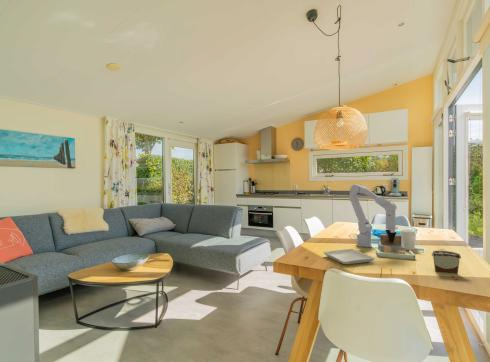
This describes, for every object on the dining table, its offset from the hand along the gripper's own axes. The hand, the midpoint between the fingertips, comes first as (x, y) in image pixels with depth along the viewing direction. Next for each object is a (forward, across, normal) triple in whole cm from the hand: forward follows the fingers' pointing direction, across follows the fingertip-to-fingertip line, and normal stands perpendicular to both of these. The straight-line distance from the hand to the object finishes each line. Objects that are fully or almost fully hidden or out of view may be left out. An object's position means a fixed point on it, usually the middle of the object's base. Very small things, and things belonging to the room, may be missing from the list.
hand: (390, 241), depth 181 cm
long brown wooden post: (+2, 0, 0) cm, 2 cm away
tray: (+6, -14, 0) cm, 15 cm away
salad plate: (+6, -32, +27) cm, 42 cm away
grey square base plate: (+6, -2, 0) cm, 6 cm away
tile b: (+3, -14, -4) cm, 15 cm away
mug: (+6, +10, -13) cm, 17 cm away
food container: (+6, -38, -19) cm, 43 cm away
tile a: (+3, -10, +3) cm, 11 cm away
